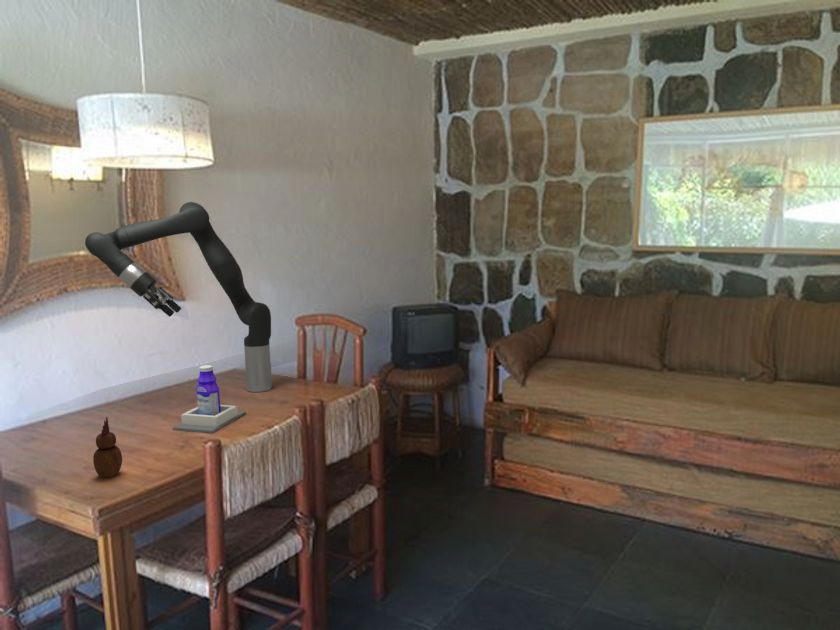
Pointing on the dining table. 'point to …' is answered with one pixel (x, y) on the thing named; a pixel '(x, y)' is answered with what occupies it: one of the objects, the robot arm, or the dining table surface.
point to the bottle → (208, 392)
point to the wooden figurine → (107, 453)
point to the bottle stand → (208, 420)
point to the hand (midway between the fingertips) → (175, 312)
